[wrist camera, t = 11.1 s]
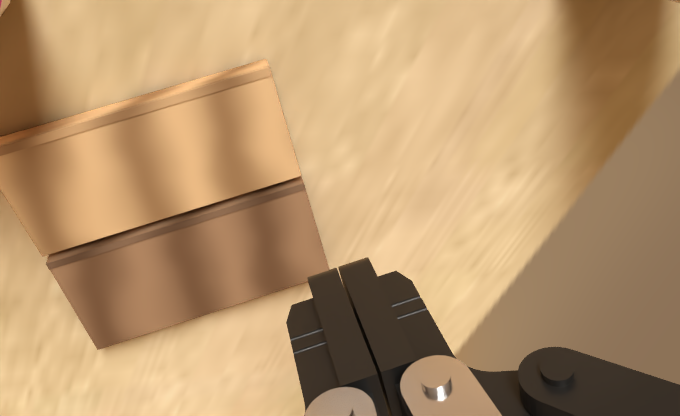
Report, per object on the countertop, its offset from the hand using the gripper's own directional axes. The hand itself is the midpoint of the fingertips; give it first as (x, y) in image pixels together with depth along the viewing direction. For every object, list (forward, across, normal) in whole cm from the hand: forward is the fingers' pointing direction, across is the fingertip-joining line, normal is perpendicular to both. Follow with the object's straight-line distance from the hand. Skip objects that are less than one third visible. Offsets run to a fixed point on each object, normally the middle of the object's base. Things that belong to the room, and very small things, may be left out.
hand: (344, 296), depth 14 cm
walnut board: (+32, +9, +17) cm, 37 cm away
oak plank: (+32, +9, +7) cm, 34 cm away
